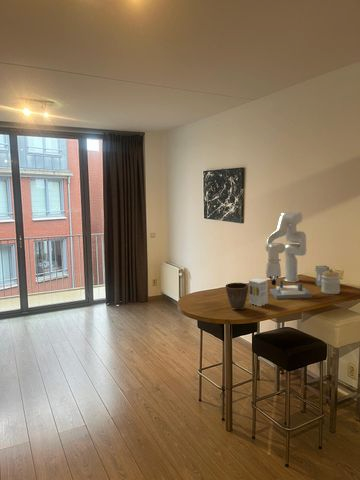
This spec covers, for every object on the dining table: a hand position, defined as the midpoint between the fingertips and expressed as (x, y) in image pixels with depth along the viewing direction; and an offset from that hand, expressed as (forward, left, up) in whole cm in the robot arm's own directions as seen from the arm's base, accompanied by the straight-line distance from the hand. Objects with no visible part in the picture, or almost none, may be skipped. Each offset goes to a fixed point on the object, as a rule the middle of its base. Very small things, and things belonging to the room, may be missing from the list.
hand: (273, 284), depth 270 cm
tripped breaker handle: (0, +5, -2) cm, 6 cm away
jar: (+3, +42, -7) cm, 43 cm away
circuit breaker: (-17, +47, -7) cm, 50 cm away
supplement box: (+23, -17, -7) cm, 29 cm away
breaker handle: (+10, +17, -2) cm, 19 cm away
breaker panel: (+5, +11, -6) cm, 14 cm away
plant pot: (+31, -33, -7) cm, 46 cm away
